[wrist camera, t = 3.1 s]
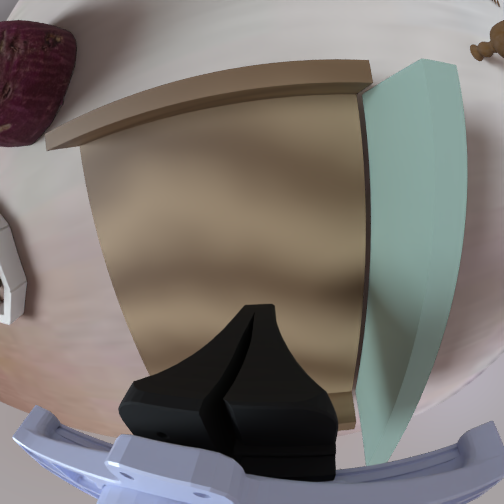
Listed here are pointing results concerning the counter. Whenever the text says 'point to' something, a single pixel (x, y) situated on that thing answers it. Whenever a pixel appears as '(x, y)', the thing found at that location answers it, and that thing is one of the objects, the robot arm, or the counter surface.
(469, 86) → the counter surface
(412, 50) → the counter surface
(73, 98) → the counter surface
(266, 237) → the tan lipped tray
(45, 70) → the vegetable
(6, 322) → the fruit dish
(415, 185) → the panel
